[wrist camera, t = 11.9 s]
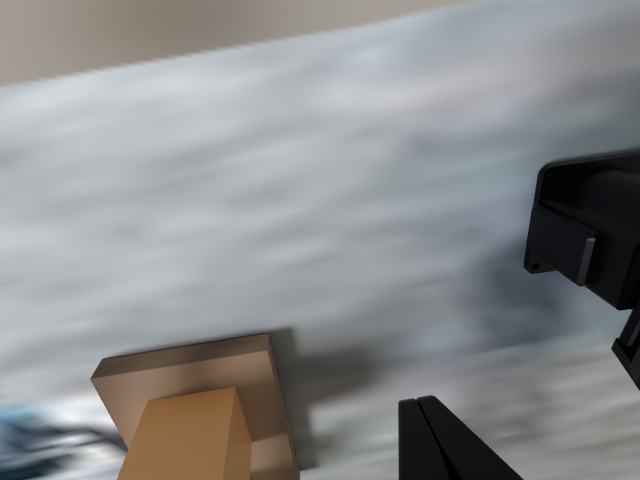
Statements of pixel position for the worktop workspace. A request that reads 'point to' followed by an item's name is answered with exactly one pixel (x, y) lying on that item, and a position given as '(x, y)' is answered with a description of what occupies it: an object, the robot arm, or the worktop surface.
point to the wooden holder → (200, 376)
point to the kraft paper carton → (191, 439)
